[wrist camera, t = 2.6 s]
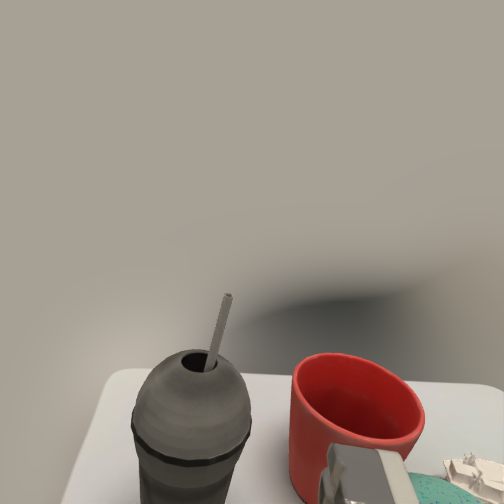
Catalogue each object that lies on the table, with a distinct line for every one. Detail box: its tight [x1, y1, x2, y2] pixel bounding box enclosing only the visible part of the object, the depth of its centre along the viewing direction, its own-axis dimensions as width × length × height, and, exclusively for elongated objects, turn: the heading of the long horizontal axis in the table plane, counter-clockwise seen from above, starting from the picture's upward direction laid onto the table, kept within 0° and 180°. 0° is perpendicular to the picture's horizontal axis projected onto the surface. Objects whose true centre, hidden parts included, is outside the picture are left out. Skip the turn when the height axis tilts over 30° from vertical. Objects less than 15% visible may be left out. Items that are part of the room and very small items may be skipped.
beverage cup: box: [131, 293, 252, 504], centre depth 24 cm, size 7×7×20 cm
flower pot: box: [289, 353, 425, 504], centre depth 33 cm, size 11×11×10 cm
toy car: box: [443, 453, 504, 504], centre depth 34 cm, size 5×8×4 cm, turn 78°
